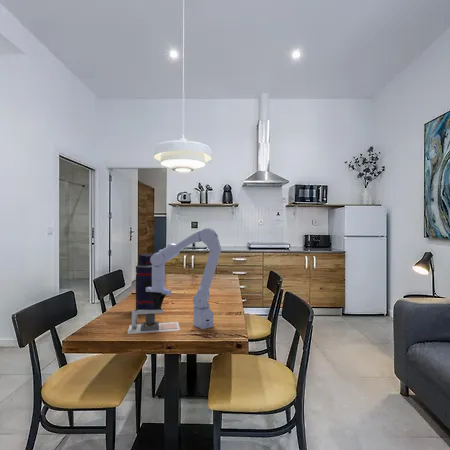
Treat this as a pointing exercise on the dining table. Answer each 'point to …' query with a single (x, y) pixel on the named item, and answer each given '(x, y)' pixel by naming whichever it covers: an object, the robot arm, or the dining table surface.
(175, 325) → the pad
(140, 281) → the red-striped navy canister
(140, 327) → the dock board
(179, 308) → the dining table surface
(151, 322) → the plug
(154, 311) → the retention clip
